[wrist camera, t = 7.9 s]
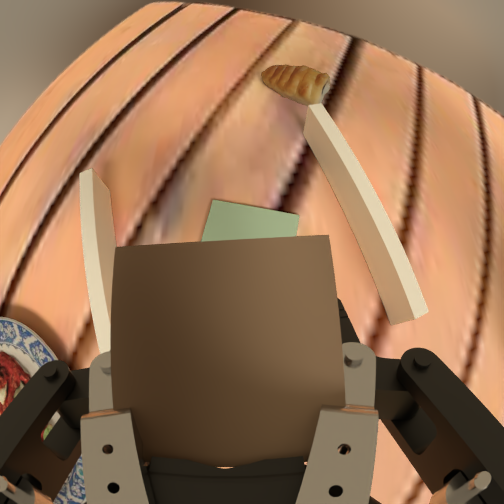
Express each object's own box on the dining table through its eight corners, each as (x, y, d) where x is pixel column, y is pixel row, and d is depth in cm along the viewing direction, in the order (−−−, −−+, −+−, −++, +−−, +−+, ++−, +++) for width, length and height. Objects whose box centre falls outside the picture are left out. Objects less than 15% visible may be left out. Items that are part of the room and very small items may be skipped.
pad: (298, 217, 30) (299, 215, 30) (283, 303, 28) (284, 302, 27) (213, 201, 31) (213, 199, 31) (190, 283, 28) (189, 283, 28)
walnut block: (285, 300, 16) (326, 222, 7) (291, 396, 14) (346, 455, 5) (193, 305, 16) (116, 235, 7) (197, 400, 14) (119, 457, 5)
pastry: (253, 92, 37) (253, 71, 34) (272, 68, 39) (273, 49, 36) (318, 113, 36) (323, 92, 32) (331, 87, 38) (336, 67, 34)
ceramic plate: (-41, 425, 21) (-53, 426, 18) (-7, 285, 28) (-21, 279, 26) (80, 543, 17) (70, 552, 14) (135, 397, 25) (123, 401, 22)
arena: (314, 131, 34) (321, 103, 30) (403, 319, 27) (428, 311, 22) (98, 195, 32) (79, 173, 27) (140, 408, 24) (118, 417, 19)
